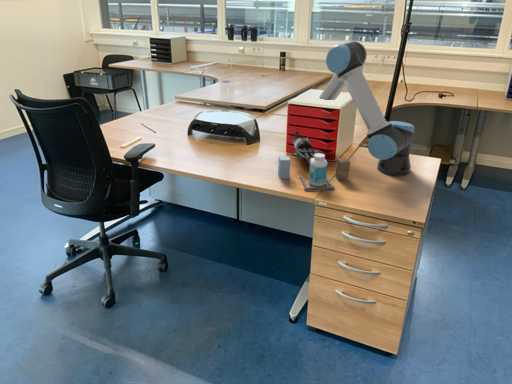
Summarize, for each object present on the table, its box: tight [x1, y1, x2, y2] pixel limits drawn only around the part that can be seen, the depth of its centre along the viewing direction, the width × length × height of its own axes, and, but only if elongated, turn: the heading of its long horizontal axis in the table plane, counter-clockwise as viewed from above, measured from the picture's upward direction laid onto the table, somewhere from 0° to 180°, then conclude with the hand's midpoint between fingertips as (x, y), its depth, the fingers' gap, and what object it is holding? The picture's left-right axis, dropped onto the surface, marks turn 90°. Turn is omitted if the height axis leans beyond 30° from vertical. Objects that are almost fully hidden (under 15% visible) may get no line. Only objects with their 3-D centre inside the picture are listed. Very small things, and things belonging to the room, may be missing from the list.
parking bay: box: [299, 175, 336, 192], centre depth 187 cm, size 13×13×1 cm
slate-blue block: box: [277, 155, 292, 180], centre depth 191 cm, size 4×4×9 cm
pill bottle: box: [308, 152, 328, 187], centre depth 184 cm, size 8×7×14 cm
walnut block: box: [334, 157, 351, 182], centre depth 190 cm, size 4×4×9 cm
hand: (314, 166), depth 187 cm, fingers closed
